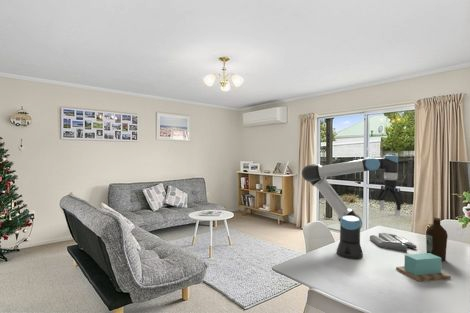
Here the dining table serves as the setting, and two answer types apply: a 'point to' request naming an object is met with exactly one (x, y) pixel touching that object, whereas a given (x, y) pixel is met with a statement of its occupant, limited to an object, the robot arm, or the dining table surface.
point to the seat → (424, 277)
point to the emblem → (392, 242)
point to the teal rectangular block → (422, 264)
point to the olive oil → (436, 240)
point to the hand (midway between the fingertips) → (389, 212)
